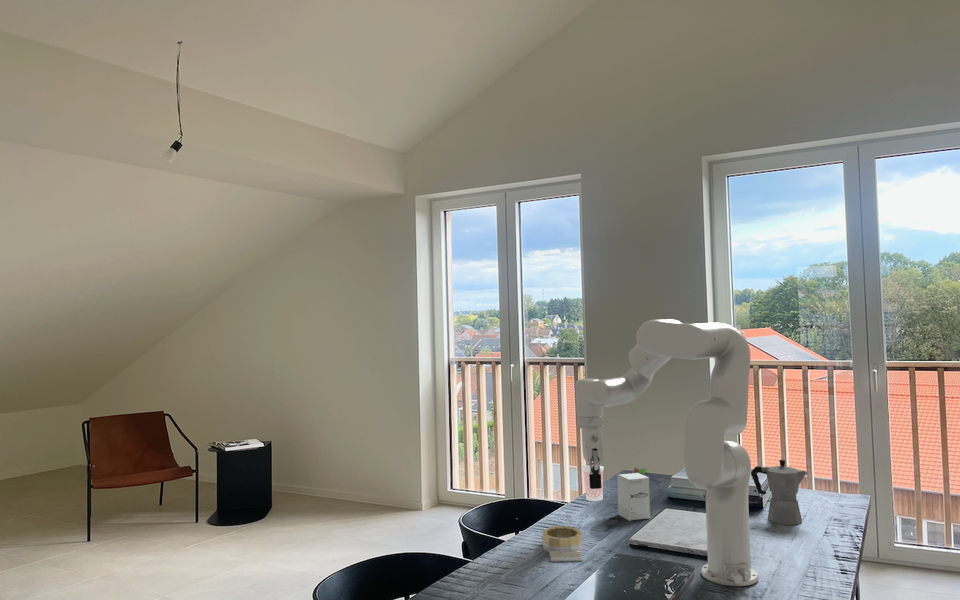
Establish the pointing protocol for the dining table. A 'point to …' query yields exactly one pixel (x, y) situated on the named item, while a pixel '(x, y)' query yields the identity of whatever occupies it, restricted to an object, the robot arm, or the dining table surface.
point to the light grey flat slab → (564, 551)
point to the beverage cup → (590, 493)
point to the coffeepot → (781, 492)
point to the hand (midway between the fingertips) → (593, 485)
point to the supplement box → (633, 496)
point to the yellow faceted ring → (562, 542)
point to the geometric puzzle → (640, 471)
